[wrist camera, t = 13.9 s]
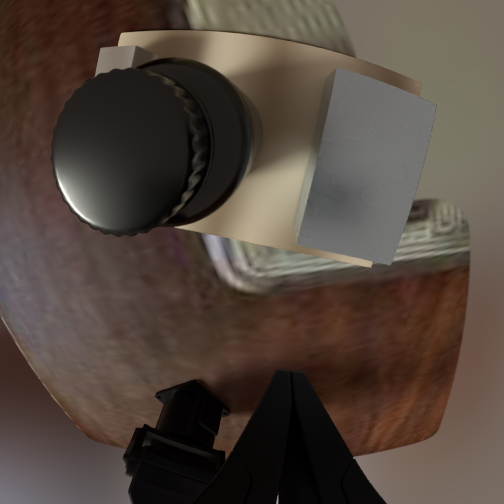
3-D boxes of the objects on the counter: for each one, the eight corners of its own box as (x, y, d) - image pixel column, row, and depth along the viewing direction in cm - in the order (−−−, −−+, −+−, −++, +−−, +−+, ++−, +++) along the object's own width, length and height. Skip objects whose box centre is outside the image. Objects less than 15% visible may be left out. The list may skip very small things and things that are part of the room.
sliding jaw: (293, 224, 19) (296, 244, 16) (326, 77, 15) (336, 67, 12) (374, 242, 19) (390, 265, 16) (411, 106, 15) (436, 104, 12)
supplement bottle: (188, 201, 20) (93, 297, 9) (145, 115, 17) (7, 126, 6) (281, 159, 18) (286, 215, 7) (235, 66, 16) (170, -13, 5)
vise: (103, 210, 21) (74, 228, 17) (124, 34, 15) (95, 21, 11) (368, 264, 21) (384, 292, 17) (417, 84, 15) (446, 78, 11)
